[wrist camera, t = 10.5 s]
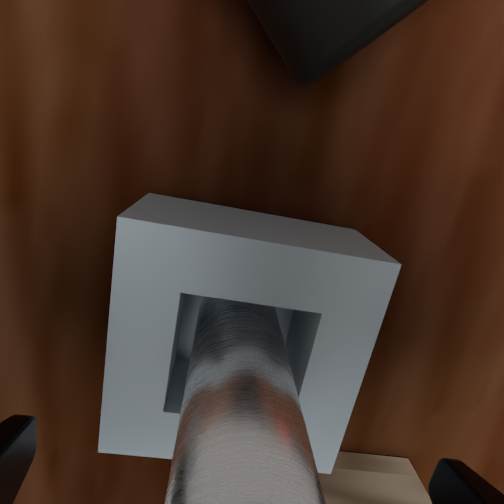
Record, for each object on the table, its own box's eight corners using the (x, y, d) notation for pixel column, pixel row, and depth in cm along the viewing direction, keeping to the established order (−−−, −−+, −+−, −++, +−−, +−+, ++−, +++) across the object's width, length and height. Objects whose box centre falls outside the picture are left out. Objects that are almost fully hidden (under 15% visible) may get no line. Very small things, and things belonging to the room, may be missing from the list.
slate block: (129, 374, 16) (97, 452, 12) (149, 192, 13) (117, 216, 9) (307, 395, 16) (330, 473, 13) (355, 229, 14) (401, 264, 10)
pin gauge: (193, 344, 14) (117, 771, 5) (204, 274, 13) (140, 628, 4) (267, 354, 14) (337, 771, 5) (283, 286, 14) (405, 640, 4)
